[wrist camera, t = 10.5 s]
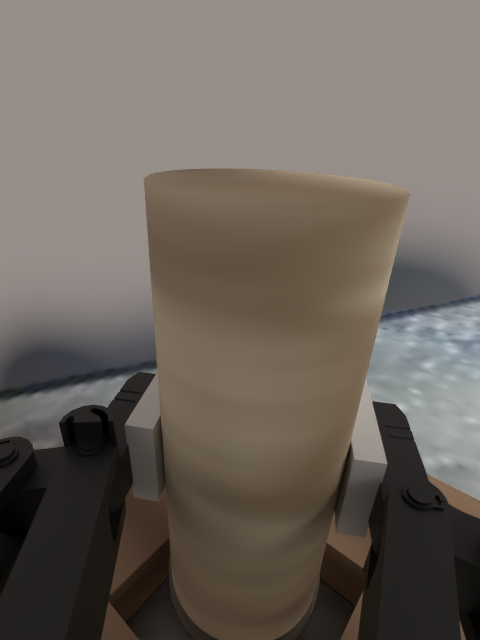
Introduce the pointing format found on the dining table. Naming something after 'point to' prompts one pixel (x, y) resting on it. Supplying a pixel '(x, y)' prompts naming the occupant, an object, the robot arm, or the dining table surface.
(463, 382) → the dining table surface
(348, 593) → the walnut board
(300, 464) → the birch peg
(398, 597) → the robot arm
